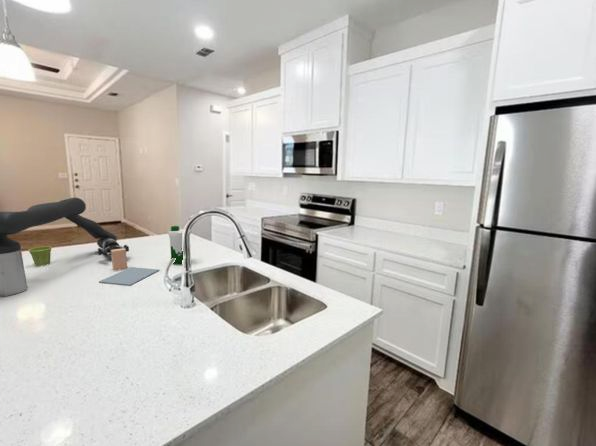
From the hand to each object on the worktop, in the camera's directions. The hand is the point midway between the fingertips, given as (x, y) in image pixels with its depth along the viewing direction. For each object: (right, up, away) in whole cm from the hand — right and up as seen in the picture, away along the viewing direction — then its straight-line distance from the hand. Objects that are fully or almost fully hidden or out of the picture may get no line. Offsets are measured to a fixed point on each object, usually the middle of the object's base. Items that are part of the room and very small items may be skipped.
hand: (115, 252), depth 158 cm
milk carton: (+33, -6, +5) cm, 34 cm away
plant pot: (-37, -6, -2) cm, 37 cm away
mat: (+18, -10, -17) cm, 26 cm away
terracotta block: (+6, -7, -6) cm, 12 cm away
